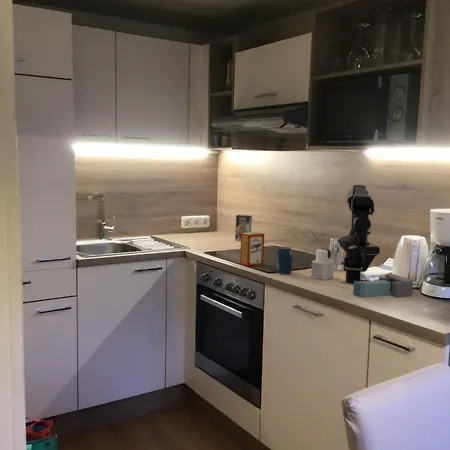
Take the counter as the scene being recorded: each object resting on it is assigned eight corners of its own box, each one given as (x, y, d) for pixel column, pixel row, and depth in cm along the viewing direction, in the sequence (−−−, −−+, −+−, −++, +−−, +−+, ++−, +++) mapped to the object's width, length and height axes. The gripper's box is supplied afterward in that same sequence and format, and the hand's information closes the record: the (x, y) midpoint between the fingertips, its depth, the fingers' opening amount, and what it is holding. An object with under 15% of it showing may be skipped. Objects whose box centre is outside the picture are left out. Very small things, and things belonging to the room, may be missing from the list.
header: (378, 292, 222) (379, 274, 221) (392, 291, 225) (393, 274, 224) (396, 300, 211) (398, 281, 210) (411, 298, 213) (412, 280, 213)
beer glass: (325, 269, 265) (327, 238, 263) (332, 267, 270) (334, 237, 268) (338, 271, 261) (340, 240, 259) (345, 269, 266) (347, 239, 264)
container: (317, 274, 252) (318, 247, 250) (333, 277, 248) (334, 249, 246) (310, 277, 246) (312, 249, 244) (327, 280, 241) (328, 251, 240)
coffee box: (234, 240, 344) (235, 215, 342) (237, 239, 350) (238, 214, 348) (248, 241, 342) (249, 216, 340) (251, 240, 348) (252, 215, 346)
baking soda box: (247, 266, 267) (248, 234, 264) (240, 263, 272) (241, 232, 270) (263, 264, 272) (264, 233, 270) (255, 262, 277) (256, 231, 275)
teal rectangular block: (353, 294, 214) (353, 281, 213) (383, 292, 219) (383, 279, 218) (359, 297, 209) (360, 284, 209) (390, 295, 214) (391, 282, 214)
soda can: (294, 273, 254) (295, 247, 253) (285, 275, 249) (287, 249, 247) (281, 270, 259) (282, 245, 257) (273, 273, 253) (274, 247, 252)
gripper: (329, 225, 214) (327, 264, 216) (356, 232, 197) (353, 274, 199) (353, 225, 218) (351, 263, 220) (382, 231, 200) (379, 273, 202)
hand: (357, 268), depth 210 cm, fingers open, 9 cm apart
